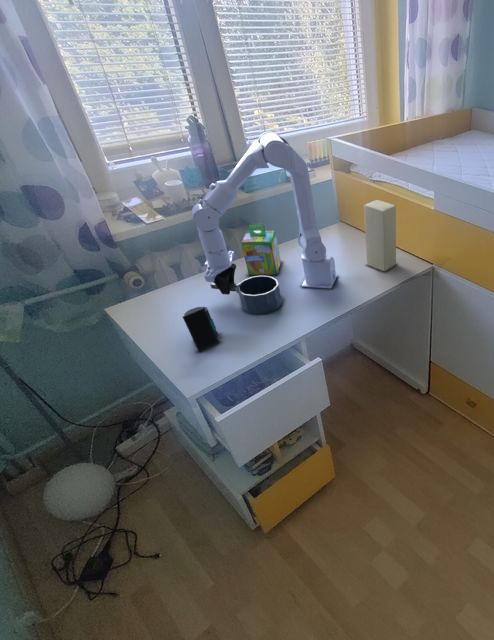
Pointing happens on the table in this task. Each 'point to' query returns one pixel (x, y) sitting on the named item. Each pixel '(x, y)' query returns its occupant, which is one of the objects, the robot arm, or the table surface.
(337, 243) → the table surface
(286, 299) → the table surface
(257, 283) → the saucepan
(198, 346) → the speaker
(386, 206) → the tall cream block
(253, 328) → the table surface
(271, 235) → the chalk box
